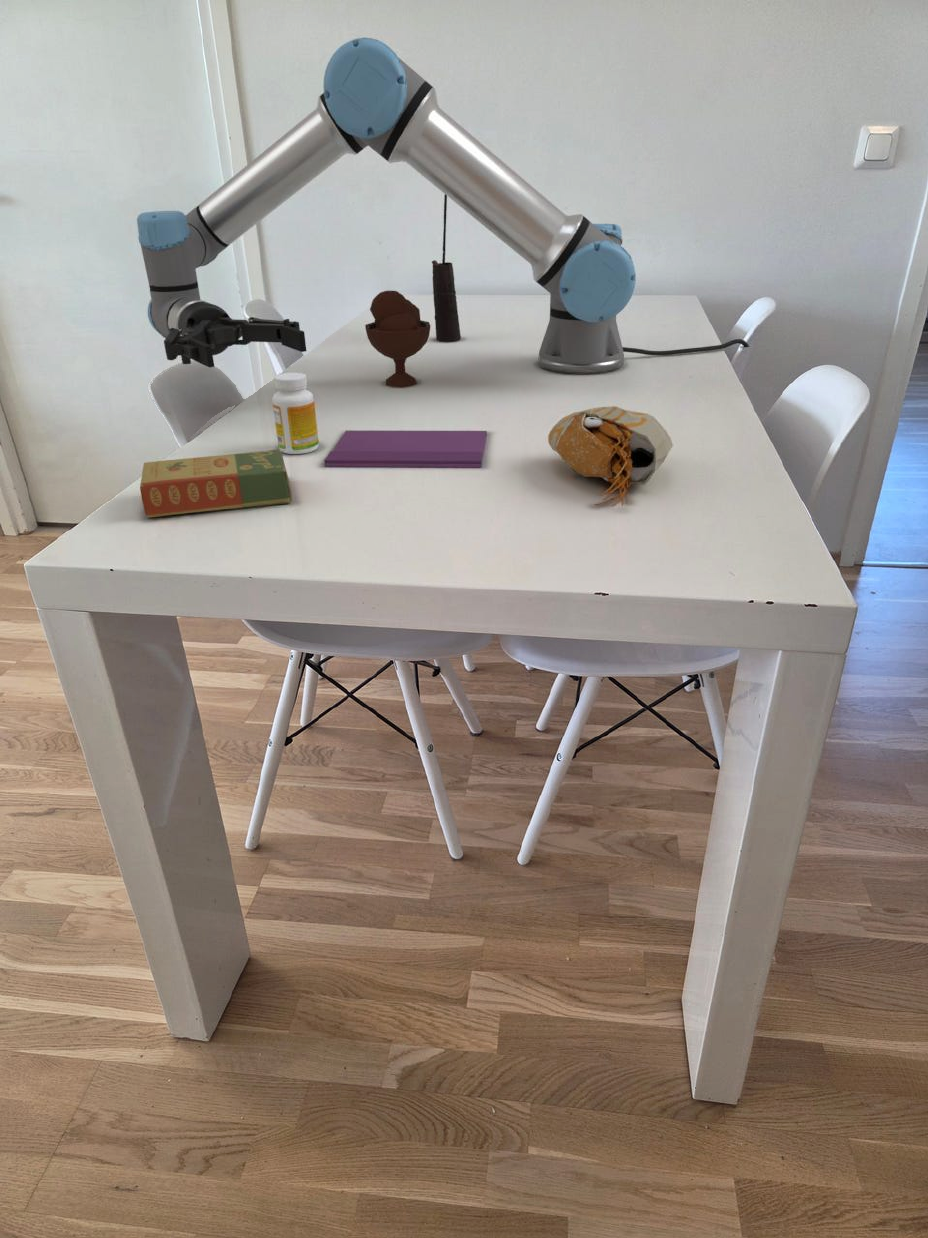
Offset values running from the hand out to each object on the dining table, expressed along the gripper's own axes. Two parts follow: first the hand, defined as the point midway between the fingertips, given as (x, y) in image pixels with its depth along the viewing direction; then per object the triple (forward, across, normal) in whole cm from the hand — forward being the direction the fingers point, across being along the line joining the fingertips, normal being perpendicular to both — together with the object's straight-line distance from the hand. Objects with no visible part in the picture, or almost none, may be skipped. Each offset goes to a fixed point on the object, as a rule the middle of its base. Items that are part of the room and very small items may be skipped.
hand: (258, 348), depth 115 cm
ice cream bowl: (-11, -29, -12) cm, 34 cm away
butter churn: (-36, -56, -12) cm, 67 cm away
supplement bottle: (+10, 0, -12) cm, 15 cm away
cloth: (+19, -11, -12) cm, 25 cm away
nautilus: (+45, -23, -12) cm, 52 cm away
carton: (+20, +16, -12) cm, 28 cm away
